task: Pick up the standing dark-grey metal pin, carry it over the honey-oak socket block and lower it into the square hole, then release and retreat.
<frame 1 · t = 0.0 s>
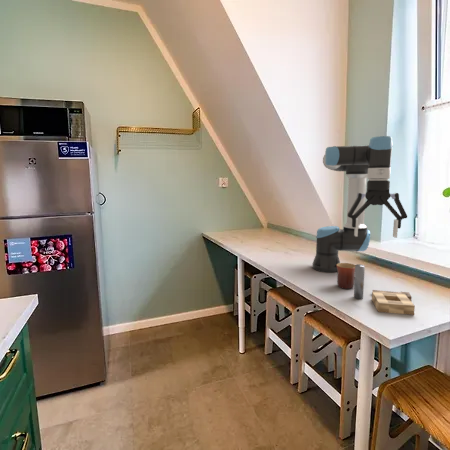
hand: (375, 236, 117), 28 cm above the countertop, fingers open, 13 cm apart
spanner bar: (389, 297, 131), on the countertop
mug: (348, 287, 143), on the countertop
pin: (358, 297, 130), on the countertop
socket block: (391, 306, 121), on the countertop
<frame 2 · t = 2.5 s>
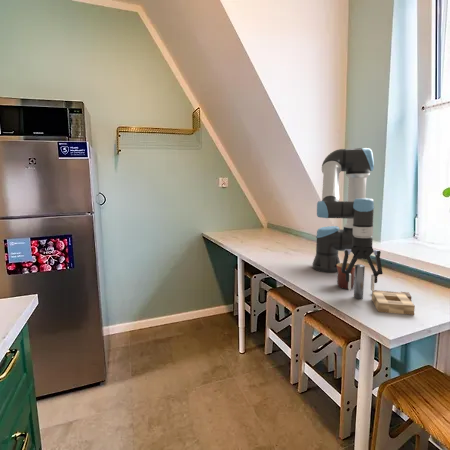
hand: (360, 289, 129), 4 cm above the countertop, fingers open, 8 cm apart
nothing on the countertop moved.
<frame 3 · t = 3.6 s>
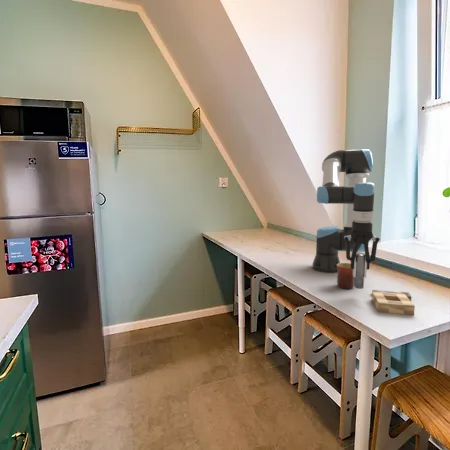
hand: (359, 276, 129), 9 cm above the countertop, fingers closed on pin, 3 cm apart
pin: (358, 287, 130), point 4 cm above the countertop, touching gripper
everything else where it was.
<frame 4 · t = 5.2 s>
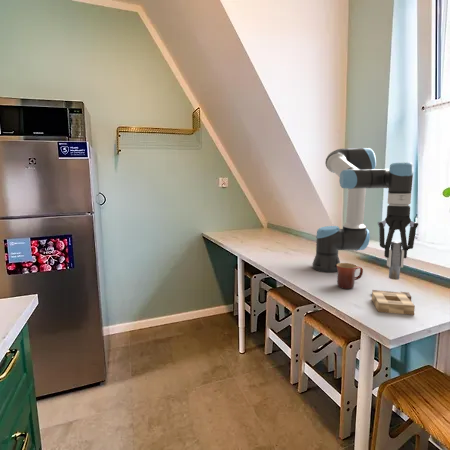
hand: (394, 266, 118), 17 cm above the countertop, fingers closed on pin, 3 cm apart
pin: (394, 278, 118), point 12 cm above the countertop, touching gripper
everything else where it was.
when the fingers open (5 cm above the countertop, at t = 6.9 s): pin stays where it is, resting in socket block.
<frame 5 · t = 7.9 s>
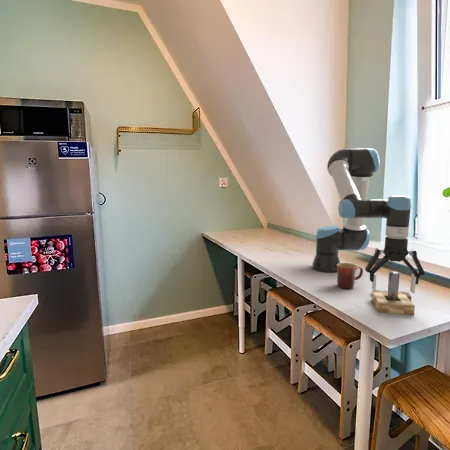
hand: (392, 290, 120), 7 cm above the countertop, fingers open, 13 cm apart
pin: (391, 307, 120), resting in socket block
everything else where it was.
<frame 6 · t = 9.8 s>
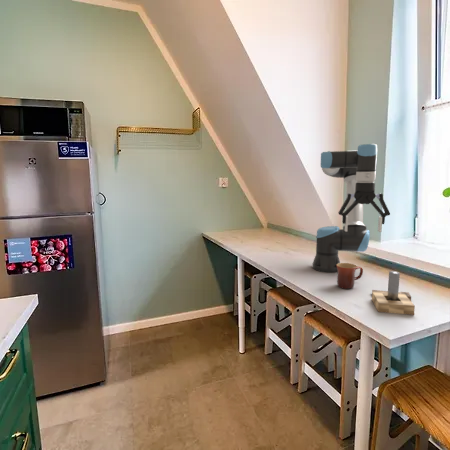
hand: (362, 231, 134), 27 cm above the countertop, fingers open, 13 cm apart
nothing on the countertop moved.
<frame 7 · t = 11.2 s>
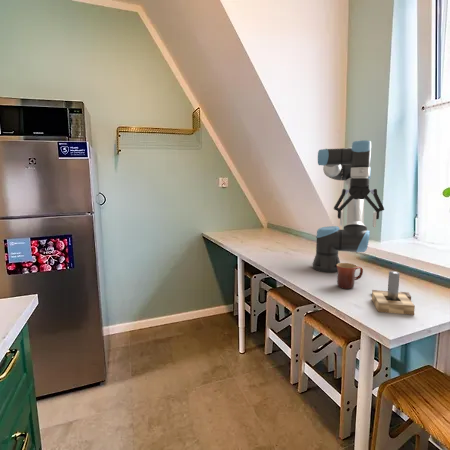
hand: (357, 226, 136), 29 cm above the countertop, fingers open, 13 cm apart
nothing on the countertop moved.
at the end: pin 0.3 cm off-centre on the socket block, point 0.0 cm above the socket block's base; pin tilted 0°; the gripper is holding nothing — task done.
